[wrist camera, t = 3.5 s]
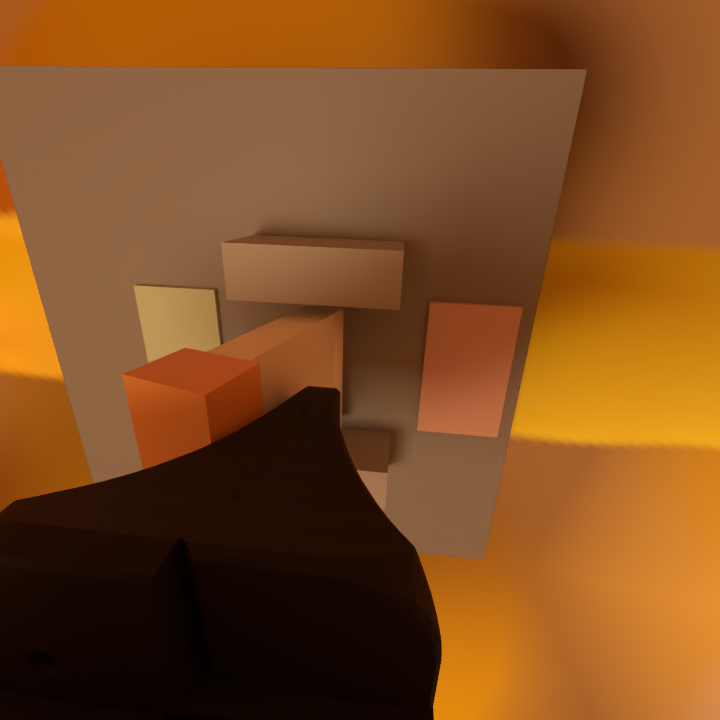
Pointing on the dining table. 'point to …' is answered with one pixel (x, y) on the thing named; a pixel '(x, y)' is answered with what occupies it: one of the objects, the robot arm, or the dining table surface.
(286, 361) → the toggle lever
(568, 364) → the dining table surface
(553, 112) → the panel
